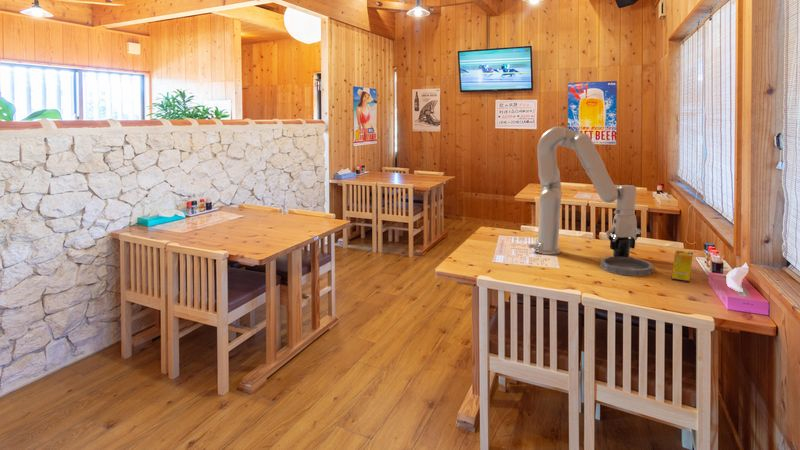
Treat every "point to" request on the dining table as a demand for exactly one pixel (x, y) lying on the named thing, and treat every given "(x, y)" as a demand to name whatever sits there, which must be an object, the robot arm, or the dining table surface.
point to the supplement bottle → (622, 247)
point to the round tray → (626, 266)
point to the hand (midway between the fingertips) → (622, 248)
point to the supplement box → (682, 266)
